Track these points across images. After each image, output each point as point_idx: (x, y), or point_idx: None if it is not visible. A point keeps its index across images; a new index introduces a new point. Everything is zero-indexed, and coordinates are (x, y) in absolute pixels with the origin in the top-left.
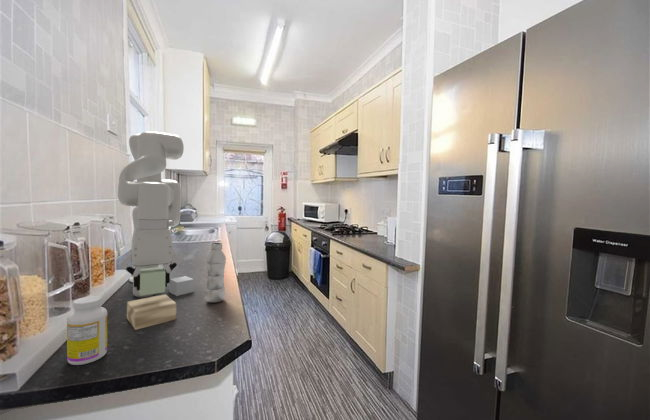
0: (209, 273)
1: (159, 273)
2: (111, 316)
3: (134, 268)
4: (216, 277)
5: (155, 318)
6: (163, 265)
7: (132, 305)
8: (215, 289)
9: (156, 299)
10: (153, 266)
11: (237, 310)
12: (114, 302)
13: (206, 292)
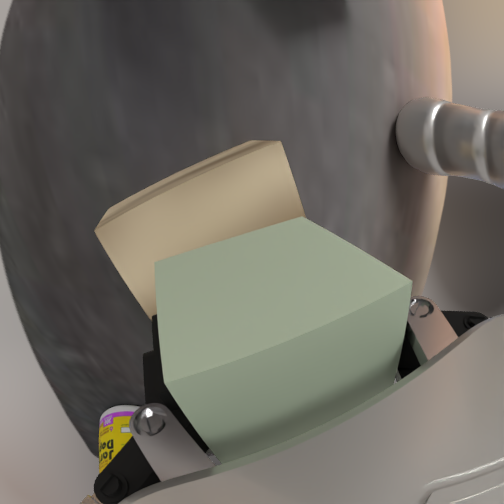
0: (498, 172)
1: None
2: (45, 180)
3: (151, 464)
4: (493, 184)
5: None
6: (420, 360)
7: (143, 295)
8: (451, 174)
9: (243, 226)
10: None
11: (433, 236)
12: (29, 14)
13: (421, 146)
